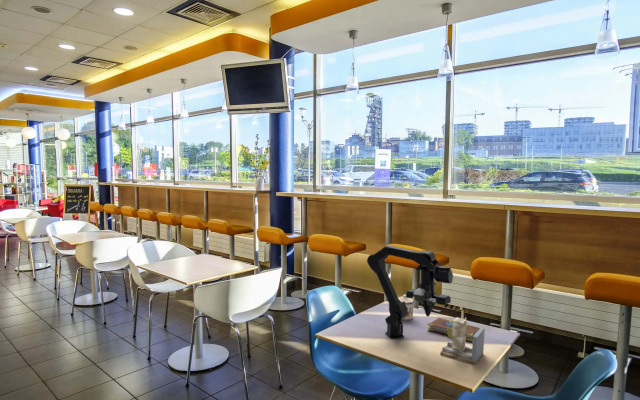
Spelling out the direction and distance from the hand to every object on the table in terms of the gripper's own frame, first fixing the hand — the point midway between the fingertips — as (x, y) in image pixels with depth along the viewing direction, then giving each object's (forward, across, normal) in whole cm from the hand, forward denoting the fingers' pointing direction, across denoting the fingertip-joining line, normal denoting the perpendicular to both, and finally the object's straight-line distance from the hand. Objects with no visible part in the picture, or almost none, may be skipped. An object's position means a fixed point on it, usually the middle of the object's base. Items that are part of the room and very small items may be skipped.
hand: (428, 316), depth 172 cm
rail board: (+13, +14, +2) cm, 20 cm away
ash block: (+12, +13, +2) cm, 18 cm away
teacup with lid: (+12, -26, +23) cm, 36 cm away
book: (+14, -1, +22) cm, 25 cm away
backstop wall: (+13, +20, +3) cm, 24 cm away
